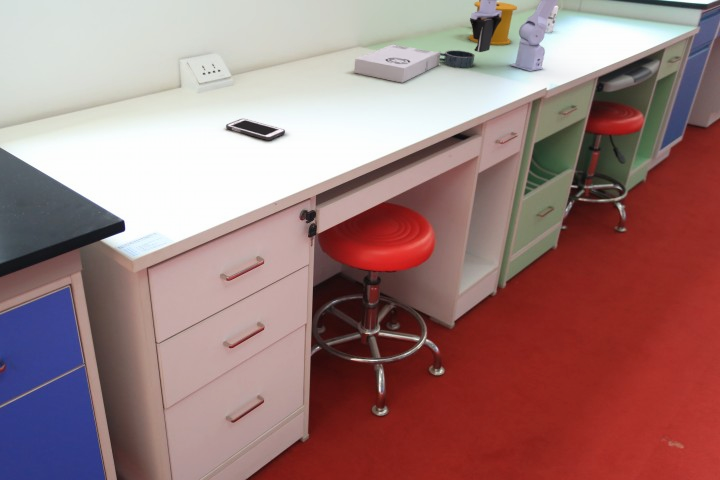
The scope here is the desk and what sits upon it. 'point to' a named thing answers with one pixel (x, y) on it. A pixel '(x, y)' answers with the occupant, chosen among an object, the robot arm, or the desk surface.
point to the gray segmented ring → (458, 58)
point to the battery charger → (485, 36)
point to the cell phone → (255, 129)
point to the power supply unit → (396, 63)
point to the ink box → (551, 20)
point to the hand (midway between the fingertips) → (482, 38)
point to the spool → (500, 24)
